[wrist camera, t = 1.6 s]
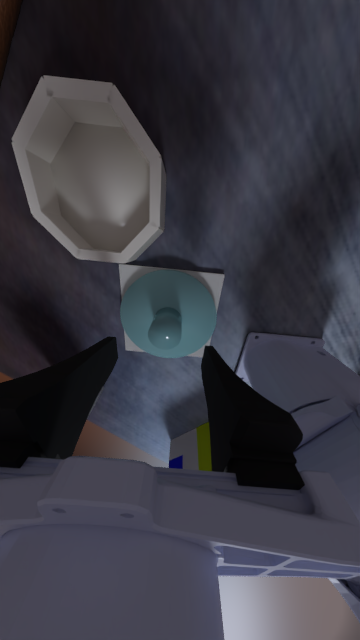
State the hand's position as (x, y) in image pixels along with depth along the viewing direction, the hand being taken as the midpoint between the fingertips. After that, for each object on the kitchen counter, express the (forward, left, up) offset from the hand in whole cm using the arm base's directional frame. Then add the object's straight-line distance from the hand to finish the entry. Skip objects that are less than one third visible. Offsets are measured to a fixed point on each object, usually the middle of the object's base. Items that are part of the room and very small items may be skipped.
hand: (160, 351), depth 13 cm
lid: (0, 0, -7) cm, 7 cm away
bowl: (+6, -11, -7) cm, 14 cm away
